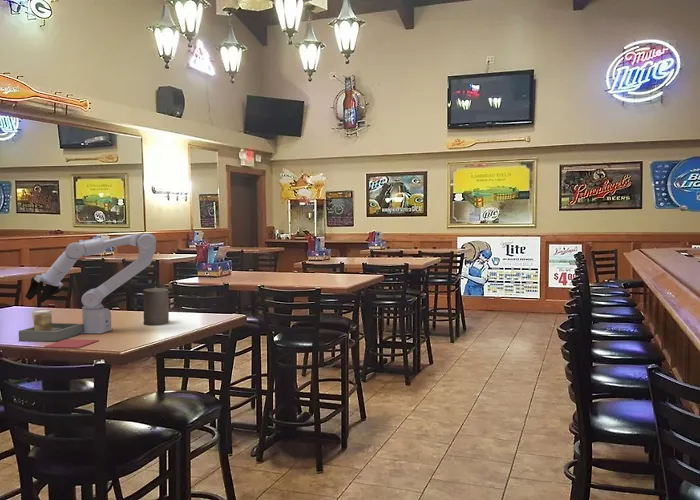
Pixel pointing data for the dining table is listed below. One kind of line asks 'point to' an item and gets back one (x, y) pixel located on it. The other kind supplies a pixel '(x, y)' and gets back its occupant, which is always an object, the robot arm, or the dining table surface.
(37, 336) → the grey green tray
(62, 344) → the bar mat
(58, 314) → the dining table surface
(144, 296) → the pillar candle
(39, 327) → the maple block
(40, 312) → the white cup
